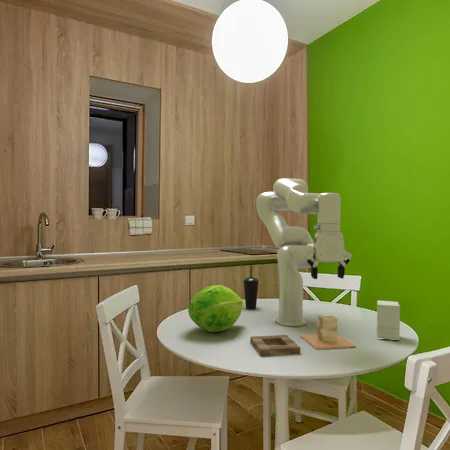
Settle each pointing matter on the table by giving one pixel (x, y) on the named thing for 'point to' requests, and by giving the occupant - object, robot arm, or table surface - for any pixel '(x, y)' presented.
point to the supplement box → (388, 320)
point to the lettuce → (215, 308)
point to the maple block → (327, 328)
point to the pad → (331, 345)
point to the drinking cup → (250, 291)
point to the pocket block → (284, 349)
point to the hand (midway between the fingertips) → (327, 278)
